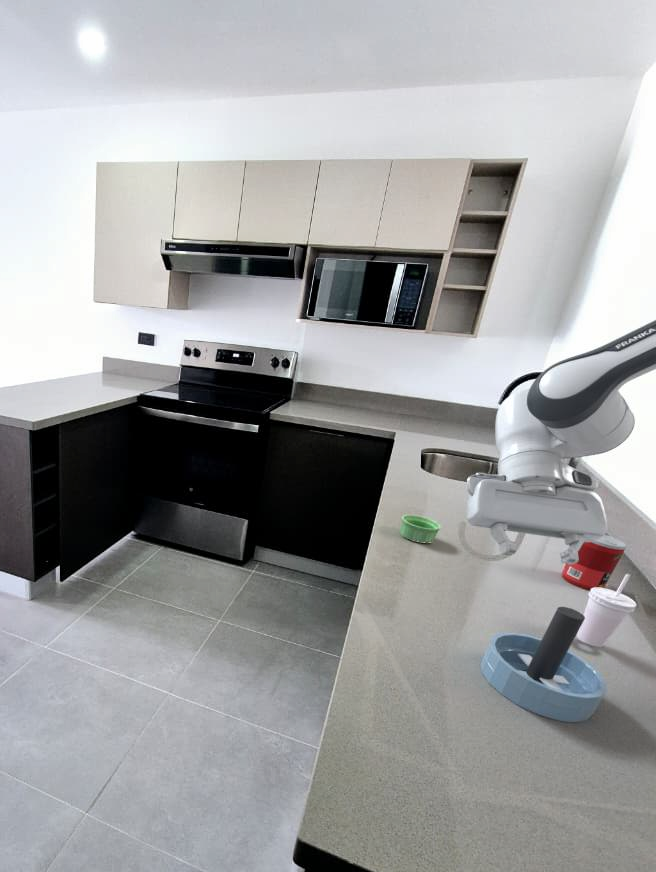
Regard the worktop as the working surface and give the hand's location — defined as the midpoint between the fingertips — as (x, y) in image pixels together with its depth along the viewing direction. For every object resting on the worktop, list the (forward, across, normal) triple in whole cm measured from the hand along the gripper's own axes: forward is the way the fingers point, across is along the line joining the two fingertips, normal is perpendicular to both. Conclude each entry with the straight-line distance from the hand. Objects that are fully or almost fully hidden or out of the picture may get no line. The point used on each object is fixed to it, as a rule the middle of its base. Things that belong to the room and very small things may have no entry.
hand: (539, 558), depth 78 cm
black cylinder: (+19, 0, +4) cm, 19 cm away
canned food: (-11, +34, +35) cm, 50 cm away
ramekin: (-20, +1, +44) cm, 49 cm away
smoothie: (+8, +18, +16) cm, 26 cm away
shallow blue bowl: (+19, 0, +4) cm, 20 cm away
